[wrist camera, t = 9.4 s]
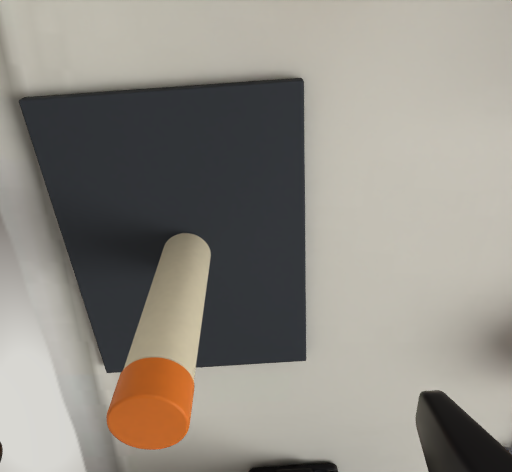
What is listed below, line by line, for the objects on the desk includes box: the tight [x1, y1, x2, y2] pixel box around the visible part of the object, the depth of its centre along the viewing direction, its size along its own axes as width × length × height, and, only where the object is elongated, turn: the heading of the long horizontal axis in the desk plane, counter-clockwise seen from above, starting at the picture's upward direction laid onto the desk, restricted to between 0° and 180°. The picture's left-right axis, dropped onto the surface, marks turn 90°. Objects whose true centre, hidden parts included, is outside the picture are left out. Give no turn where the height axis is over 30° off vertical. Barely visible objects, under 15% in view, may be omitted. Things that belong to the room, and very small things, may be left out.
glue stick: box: [107, 233, 211, 450], centre depth 17 cm, size 2×2×10 cm
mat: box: [19, 78, 306, 373], centre depth 22 cm, size 16×12×1 cm
